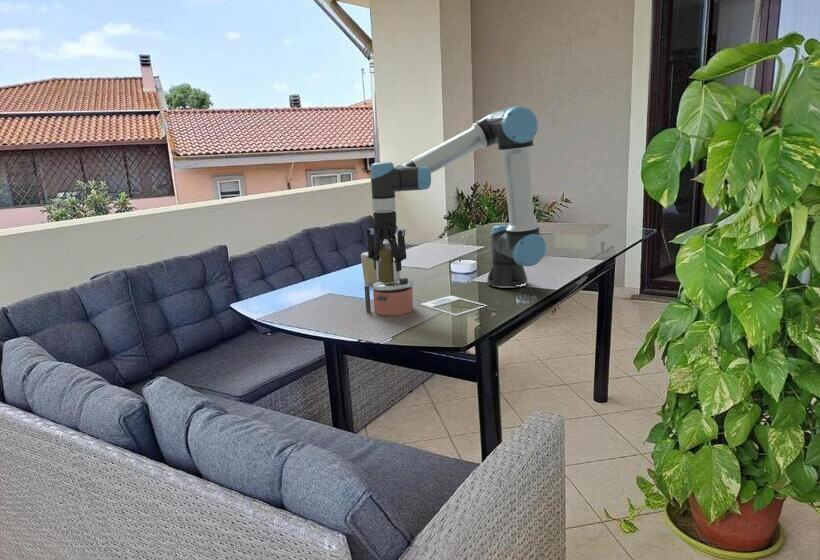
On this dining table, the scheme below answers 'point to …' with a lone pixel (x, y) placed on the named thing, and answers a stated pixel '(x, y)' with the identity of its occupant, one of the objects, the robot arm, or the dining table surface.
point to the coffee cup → (368, 269)
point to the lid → (393, 285)
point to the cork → (386, 265)
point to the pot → (390, 301)
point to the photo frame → (445, 301)
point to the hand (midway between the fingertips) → (388, 279)
